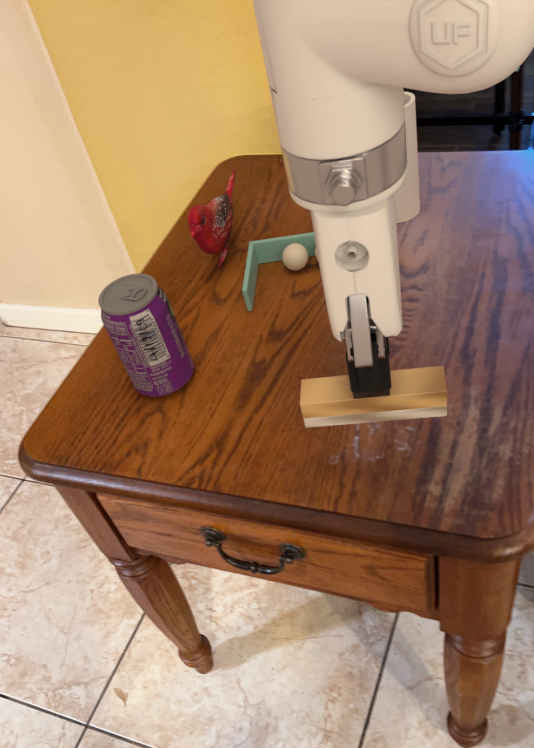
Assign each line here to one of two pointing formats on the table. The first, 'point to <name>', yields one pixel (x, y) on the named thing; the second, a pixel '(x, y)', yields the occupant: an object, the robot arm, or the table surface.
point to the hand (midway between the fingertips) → (370, 371)
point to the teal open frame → (270, 258)
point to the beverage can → (146, 334)
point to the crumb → (295, 256)
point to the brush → (374, 398)
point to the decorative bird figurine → (213, 223)
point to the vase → (409, 168)
